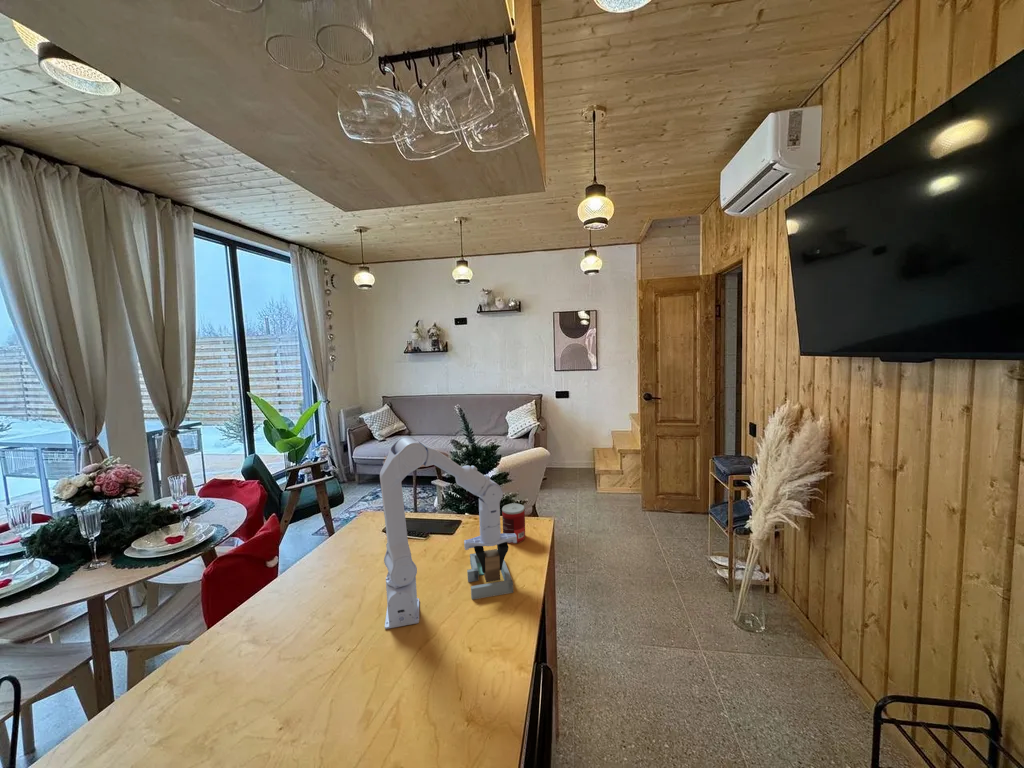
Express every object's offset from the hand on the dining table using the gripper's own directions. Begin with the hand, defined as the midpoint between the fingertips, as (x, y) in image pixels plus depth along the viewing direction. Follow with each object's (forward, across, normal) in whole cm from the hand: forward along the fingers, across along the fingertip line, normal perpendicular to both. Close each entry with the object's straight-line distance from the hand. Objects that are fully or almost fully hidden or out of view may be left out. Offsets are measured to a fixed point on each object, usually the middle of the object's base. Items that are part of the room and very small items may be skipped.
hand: (491, 569), depth 112 cm
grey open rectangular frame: (+4, 0, -3) cm, 5 cm away
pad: (+4, 0, -8) cm, 9 cm away
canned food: (+4, -12, -24) cm, 27 cm away
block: (+2, 0, 0) cm, 2 cm away
